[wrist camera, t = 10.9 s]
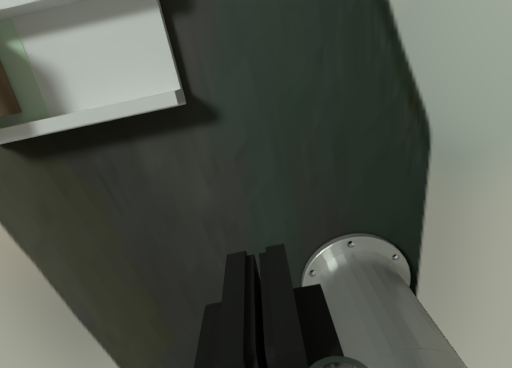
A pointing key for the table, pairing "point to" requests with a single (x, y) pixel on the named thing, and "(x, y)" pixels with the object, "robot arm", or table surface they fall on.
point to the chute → (84, 63)
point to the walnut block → (7, 96)
